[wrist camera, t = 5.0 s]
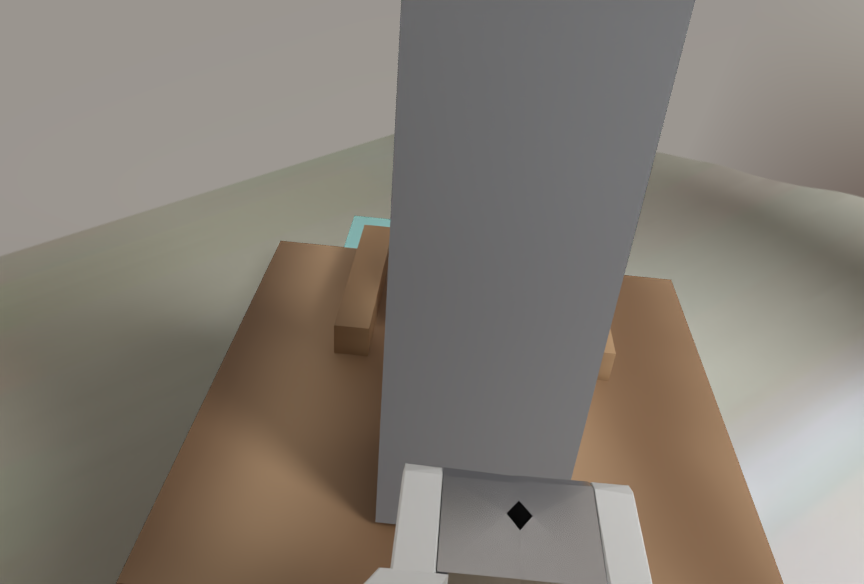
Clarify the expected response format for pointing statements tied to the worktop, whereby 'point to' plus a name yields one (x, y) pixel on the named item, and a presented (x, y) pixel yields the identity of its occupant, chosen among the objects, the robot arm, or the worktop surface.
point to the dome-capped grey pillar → (513, 223)
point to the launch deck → (360, 432)
